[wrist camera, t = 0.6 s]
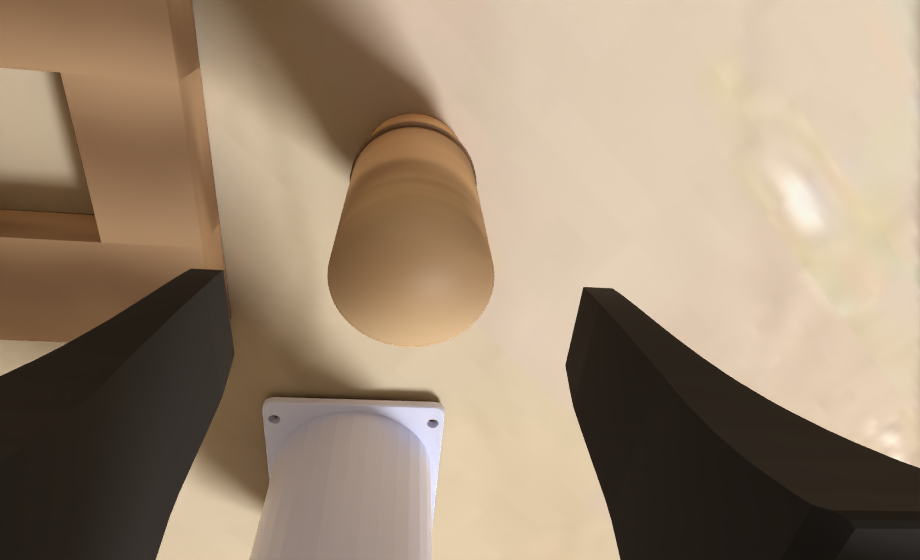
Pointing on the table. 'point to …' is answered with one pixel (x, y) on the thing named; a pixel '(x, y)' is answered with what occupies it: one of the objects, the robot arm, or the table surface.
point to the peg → (411, 237)
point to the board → (111, 164)
